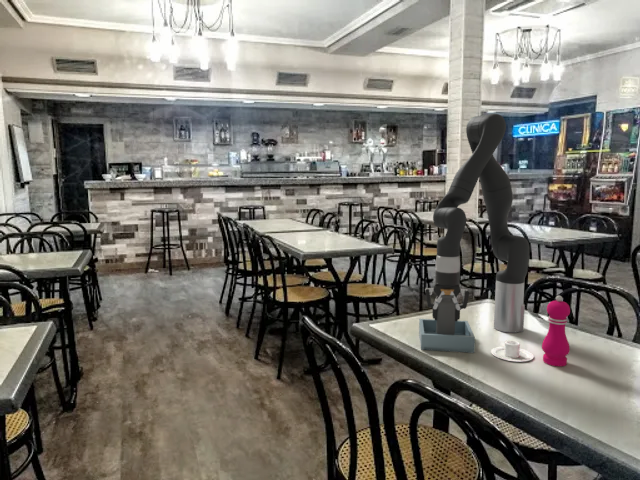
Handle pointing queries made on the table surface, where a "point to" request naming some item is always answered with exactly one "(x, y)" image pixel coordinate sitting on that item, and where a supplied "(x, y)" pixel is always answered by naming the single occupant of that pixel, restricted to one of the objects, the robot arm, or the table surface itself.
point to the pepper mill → (556, 334)
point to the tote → (446, 337)
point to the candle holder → (512, 351)
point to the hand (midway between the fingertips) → (445, 320)
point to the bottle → (446, 314)
